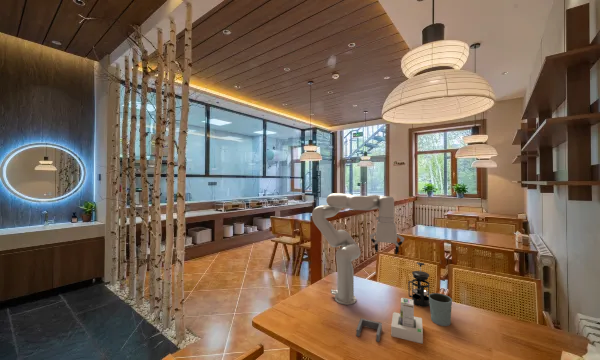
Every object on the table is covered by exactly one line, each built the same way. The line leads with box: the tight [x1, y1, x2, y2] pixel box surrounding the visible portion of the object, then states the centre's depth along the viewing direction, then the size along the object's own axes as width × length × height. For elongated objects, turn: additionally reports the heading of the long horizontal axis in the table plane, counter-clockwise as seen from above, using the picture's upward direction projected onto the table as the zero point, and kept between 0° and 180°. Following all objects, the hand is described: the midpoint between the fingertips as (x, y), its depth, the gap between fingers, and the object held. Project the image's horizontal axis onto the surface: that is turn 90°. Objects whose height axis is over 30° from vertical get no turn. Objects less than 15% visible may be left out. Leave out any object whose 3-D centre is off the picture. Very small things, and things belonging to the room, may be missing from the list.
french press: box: [407, 262, 430, 308], centre depth 143 cm, size 12×9×23 cm
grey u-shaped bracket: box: [355, 317, 383, 343], centre depth 116 cm, size 10×10×3 cm
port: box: [390, 311, 424, 345], centre depth 116 cm, size 13×13×5 cm
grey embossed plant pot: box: [429, 292, 453, 327], centre depth 125 cm, size 10×10×12 cm
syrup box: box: [399, 297, 415, 328], centre depth 116 cm, size 6×6×14 cm
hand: (386, 252), depth 129 cm, fingers open, 9 cm apart
